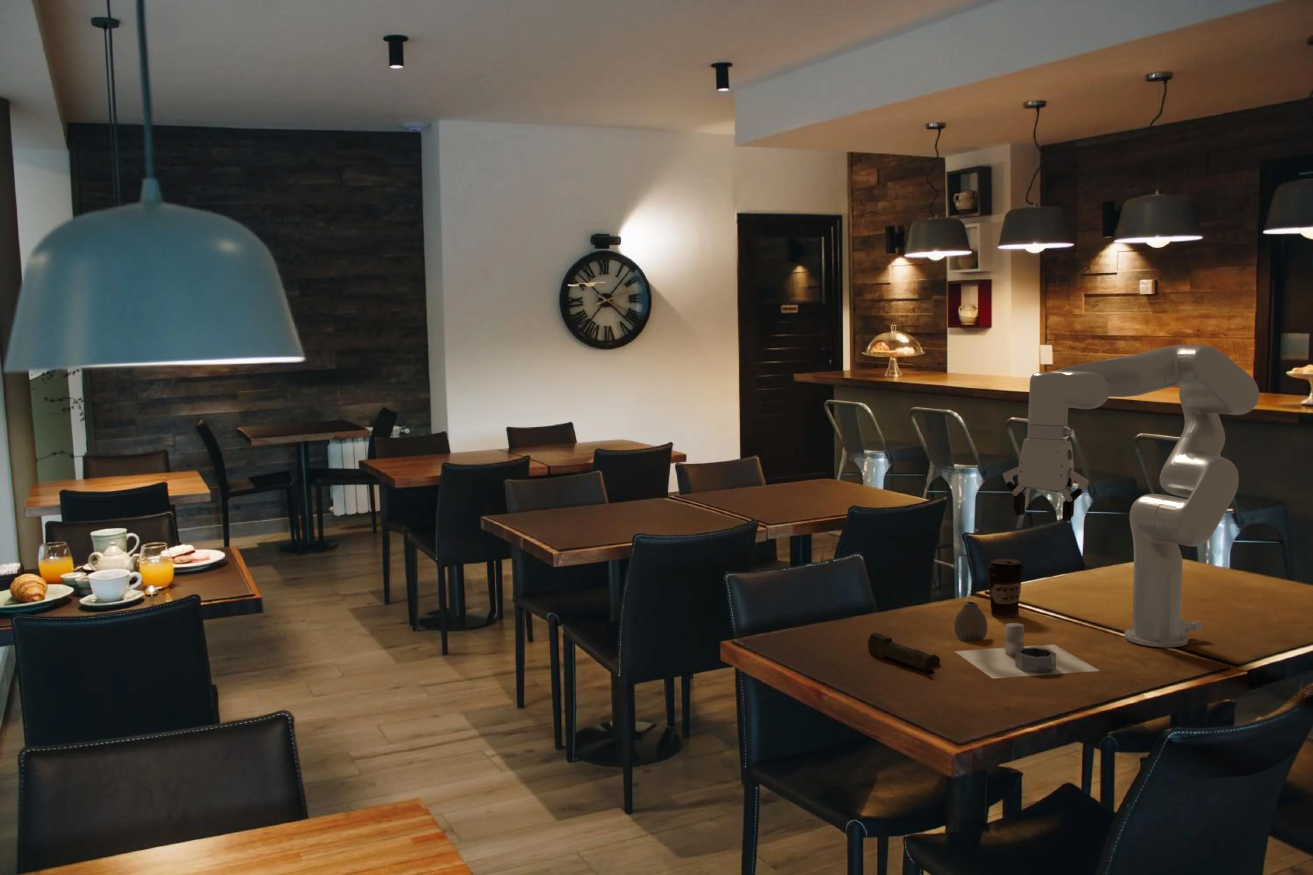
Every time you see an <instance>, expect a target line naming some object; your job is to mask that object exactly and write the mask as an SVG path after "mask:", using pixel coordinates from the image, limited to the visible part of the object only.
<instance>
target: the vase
mask: <svg viewBox="0 0 1313 875" xmlns="http://www.w3.org/2000/svg"><path fill="white" fill-rule="evenodd" d="M953 629H954V633H955V635H956V638H957V639H958V641H959V642H971V641H983V640H984V641H985V639H986V636H987V634H988V622H987V618H986V615H985V614H984V613H983V611H982V610H981V609H980V608H979V606H978V603H977V602H975V601H966V602H965V603H964V605H963V606H962V608H961V609H960V610H959V611H958V612H957V614H956V616H955V619H954V628H953Z"/></svg>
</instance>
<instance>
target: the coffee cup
mask: <svg viewBox="0 0 1313 875" xmlns="http://www.w3.org/2000/svg"><path fill="white" fill-rule="evenodd" d="M986 570H987V576H988V578H987V579H988V588H989V589H988V592H989V593H988V594H989V601H990V602H989V603H990V609H991V610H990V611H991V612H990V613H991V615H992V617H993V616H994V617H998V618H1015V617H1016V618H1017V617H1019V616H1020V613H1019V612H1020V611H1019V609H1020V608H1019V604H1020V602H1019V600H1020V597H1021V593H1022V592H1021V590H1022V578H1023V577H1022V576H1023V573H1024V570H1025V567H1024V565H1022V562H1021V561H1020V560H1019V559H1014V558H1013V559H1012V558H998V559H993V560H990V563H989V564H988V565H987V567H986Z"/></svg>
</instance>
